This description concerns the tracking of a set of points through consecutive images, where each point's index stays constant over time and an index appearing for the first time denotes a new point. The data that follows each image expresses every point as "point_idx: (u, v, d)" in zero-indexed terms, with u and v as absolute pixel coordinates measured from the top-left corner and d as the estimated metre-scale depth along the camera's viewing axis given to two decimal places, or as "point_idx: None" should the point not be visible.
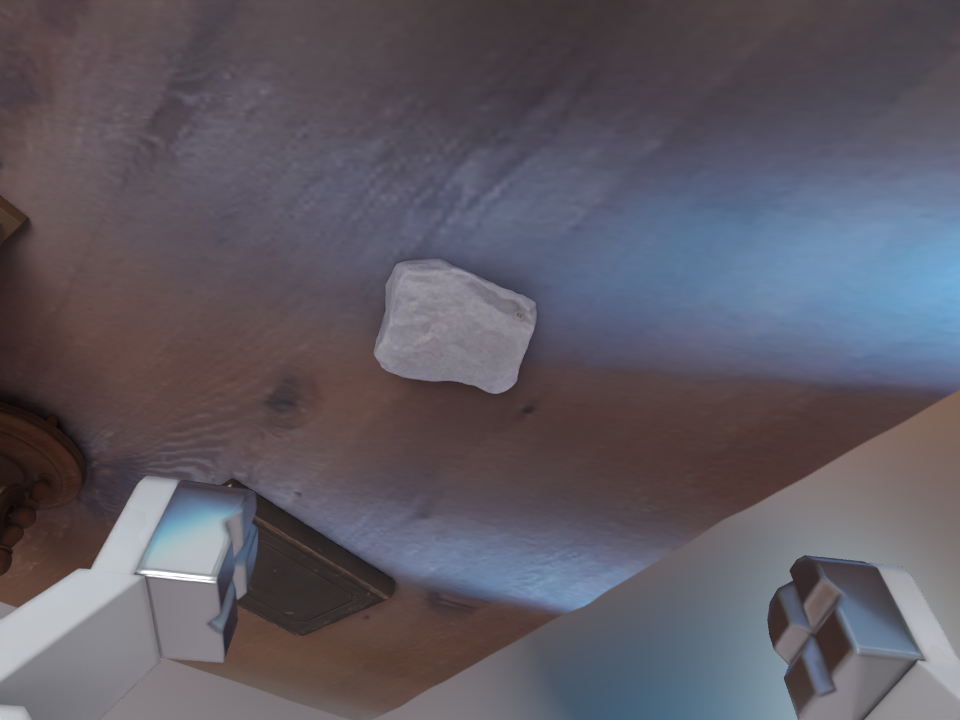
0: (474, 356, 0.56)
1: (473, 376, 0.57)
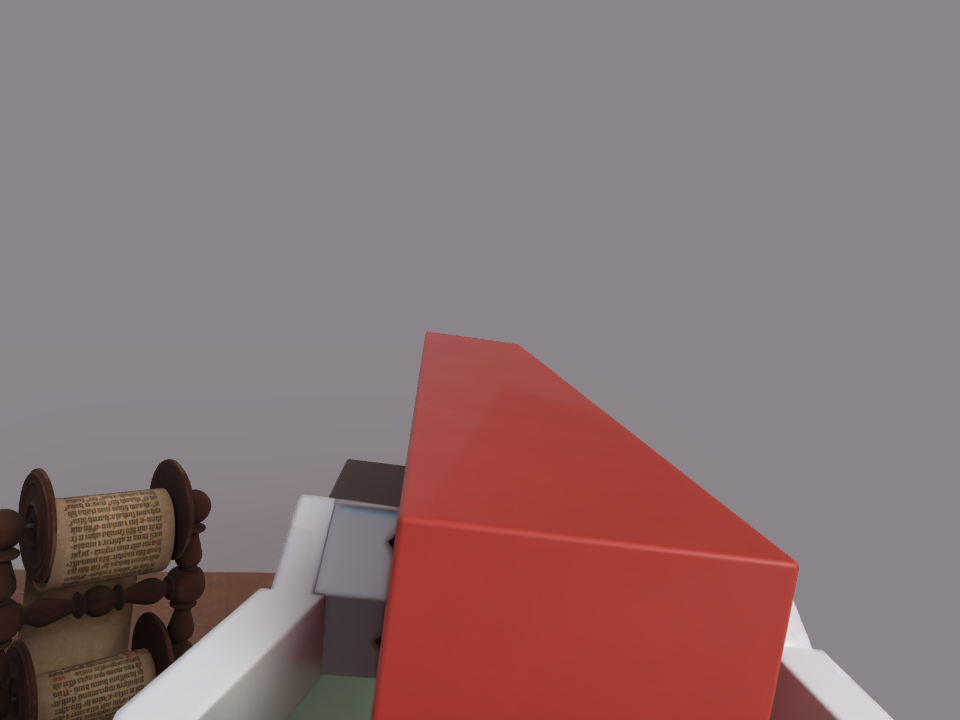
0: None
1: None
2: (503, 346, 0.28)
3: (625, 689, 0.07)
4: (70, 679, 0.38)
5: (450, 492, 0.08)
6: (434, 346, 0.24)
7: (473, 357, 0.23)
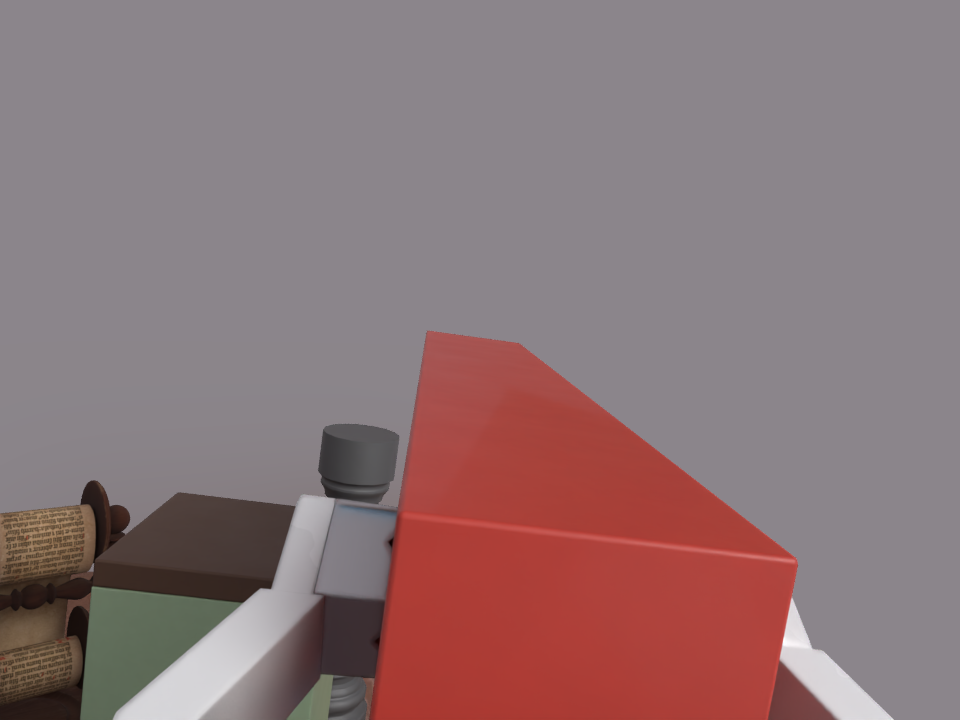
0: None
1: None
2: (504, 345, 0.29)
3: (625, 684, 0.07)
4: (9, 659, 0.48)
5: (449, 489, 0.08)
6: (435, 345, 0.24)
7: (474, 356, 0.23)
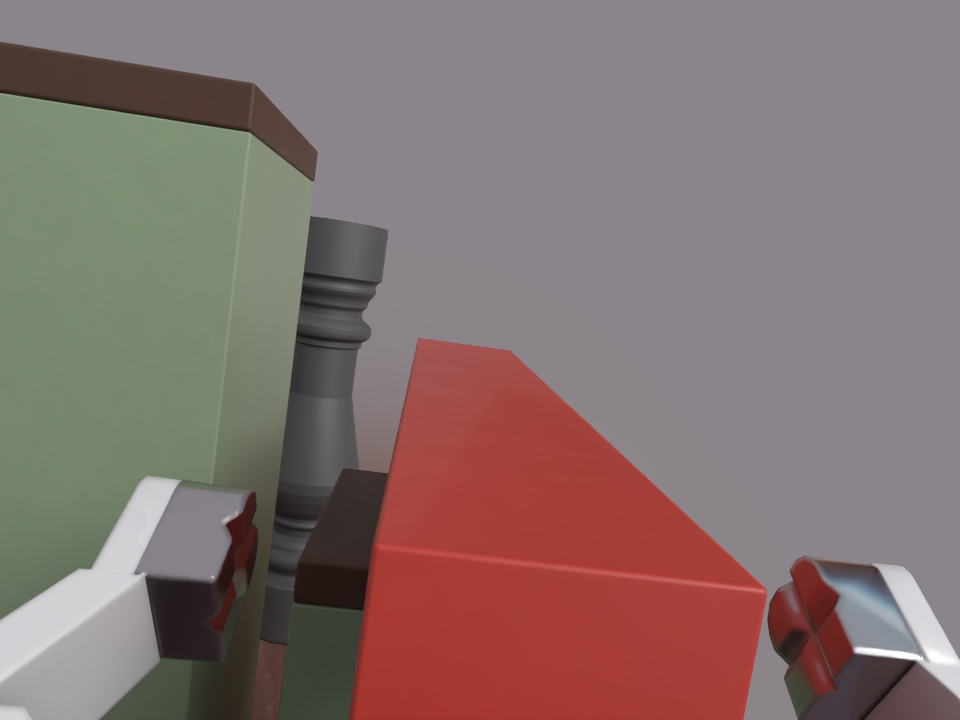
0: None
1: None
2: (495, 353, 0.29)
3: (597, 712, 0.07)
4: None
5: (426, 517, 0.08)
6: (425, 354, 0.25)
7: (463, 366, 0.23)
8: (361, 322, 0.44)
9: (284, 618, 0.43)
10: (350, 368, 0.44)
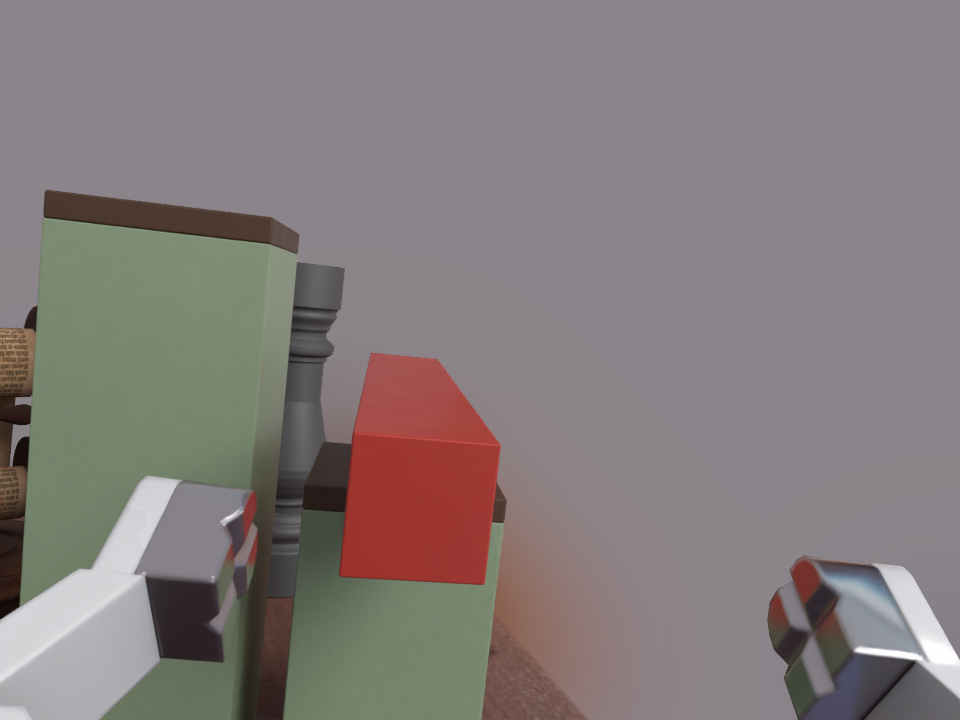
0: None
1: None
2: (425, 361, 0.41)
3: (438, 493, 0.20)
4: None
5: (373, 426, 0.20)
6: (375, 364, 0.37)
7: (400, 370, 0.35)
8: (326, 341, 0.55)
9: (273, 577, 0.54)
10: (318, 377, 0.55)
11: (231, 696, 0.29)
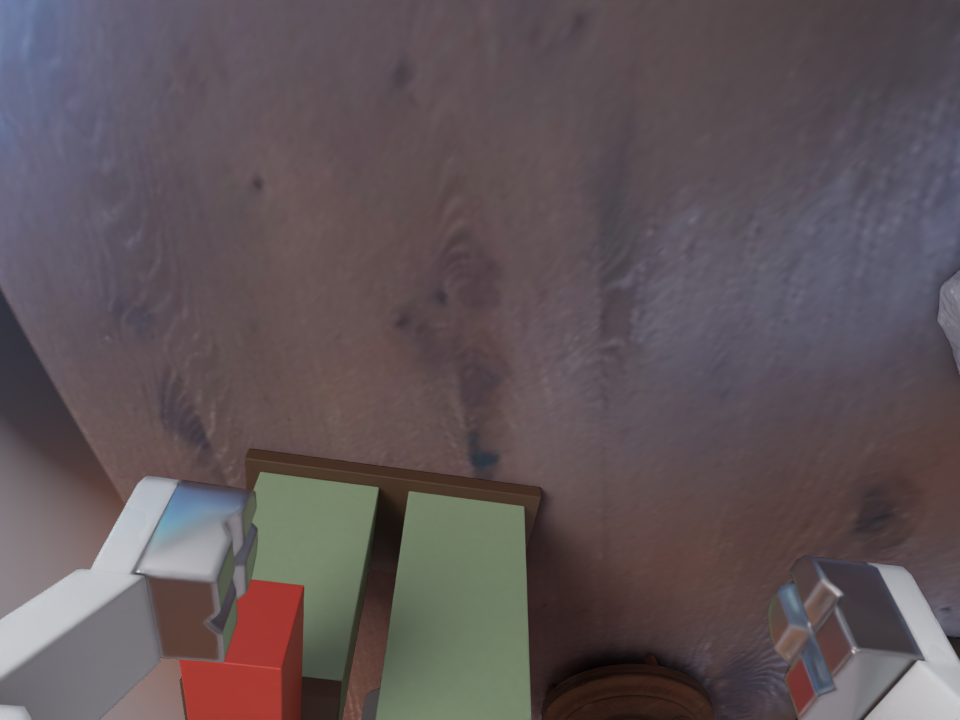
0: None
1: None
2: None
3: None
4: None
5: (268, 681, 0.29)
6: None
7: None
8: None
9: None
10: None
11: (398, 565, 0.44)
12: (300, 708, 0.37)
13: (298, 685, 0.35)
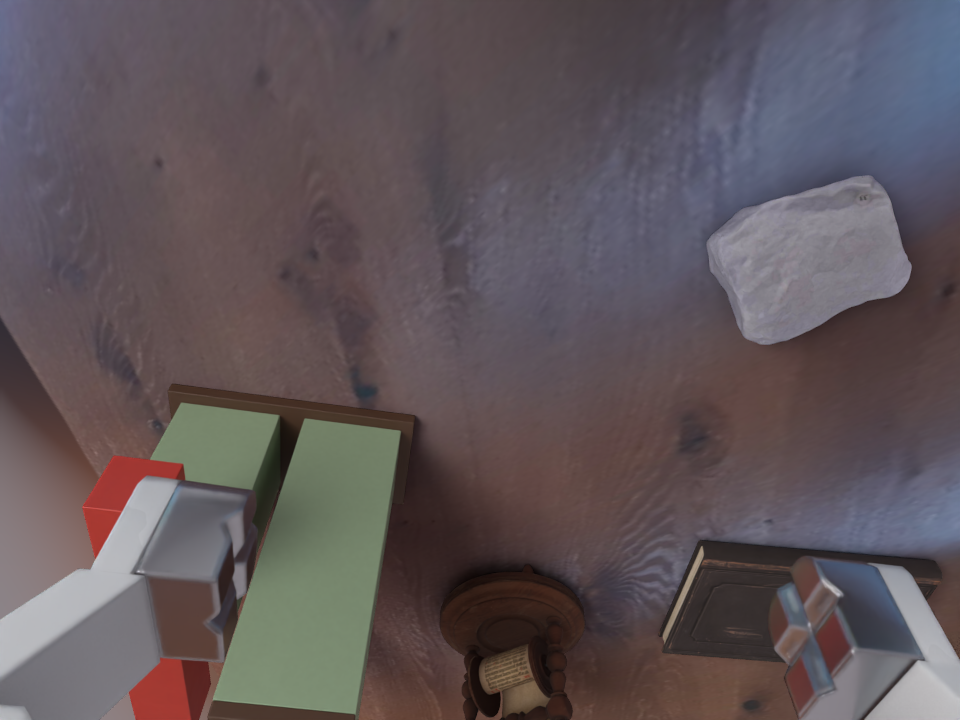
0: (845, 271, 0.48)
1: (860, 291, 0.49)
2: (146, 714, 0.51)
3: (122, 490, 0.40)
4: (521, 676, 0.68)
5: None
6: (180, 689, 0.49)
7: (159, 672, 0.48)
8: None
9: None
10: None
11: (287, 472, 0.55)
12: None
13: None
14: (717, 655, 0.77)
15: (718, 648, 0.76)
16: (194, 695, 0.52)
